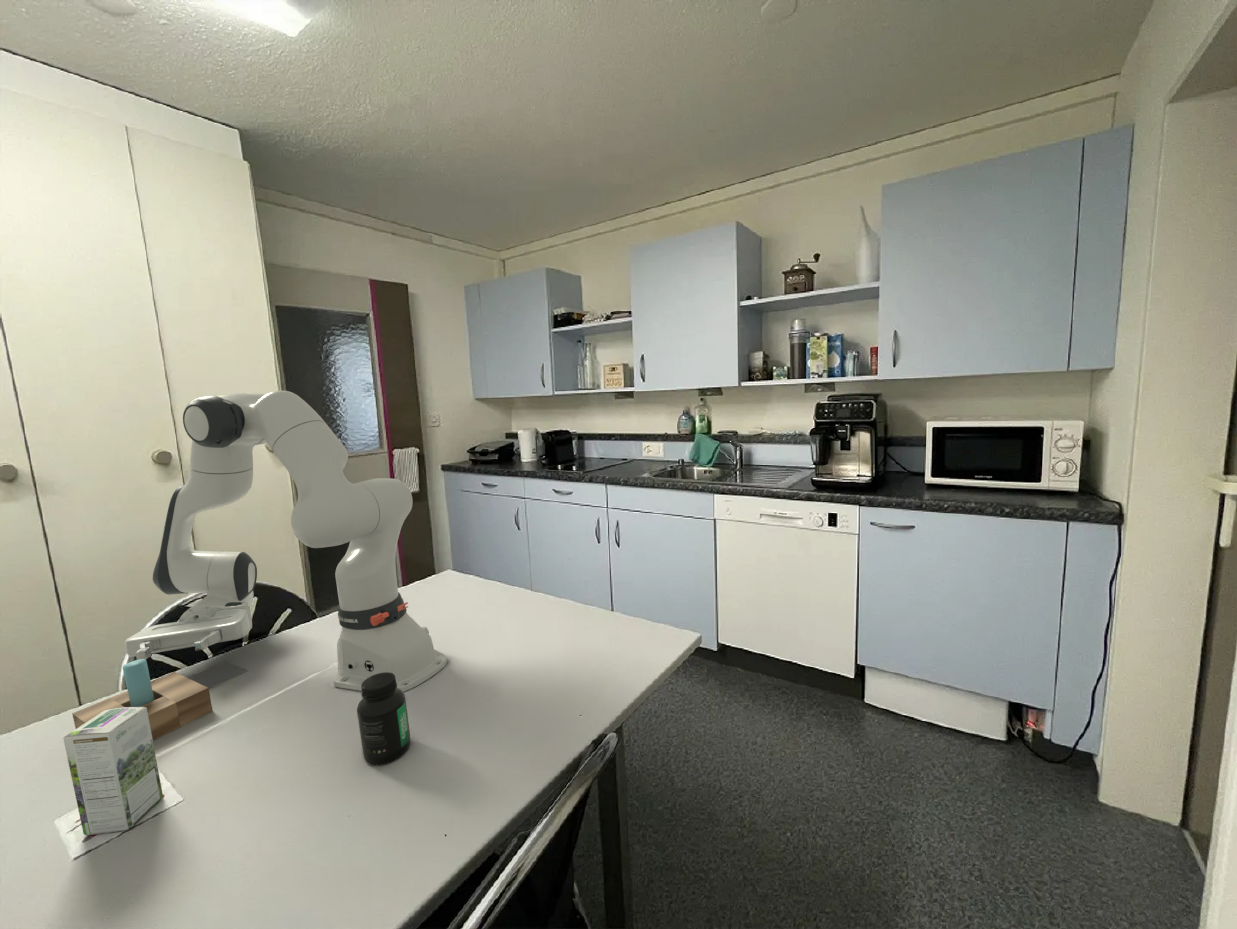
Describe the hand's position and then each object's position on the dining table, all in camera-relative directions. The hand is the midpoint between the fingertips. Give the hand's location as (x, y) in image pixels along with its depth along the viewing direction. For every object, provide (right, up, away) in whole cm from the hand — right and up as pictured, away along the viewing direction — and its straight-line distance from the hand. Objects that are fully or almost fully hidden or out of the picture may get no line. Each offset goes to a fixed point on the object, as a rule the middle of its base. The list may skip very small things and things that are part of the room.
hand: (170, 651), depth 97 cm
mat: (+3, -8, +6) cm, 11 cm away
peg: (+4, -10, -8) cm, 14 cm away
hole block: (+4, -10, -8) cm, 14 cm away
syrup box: (+20, -12, -29) cm, 37 cm away
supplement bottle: (+52, -9, -19) cm, 56 cm away
